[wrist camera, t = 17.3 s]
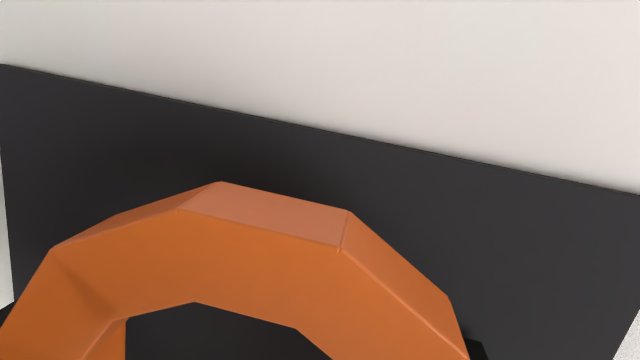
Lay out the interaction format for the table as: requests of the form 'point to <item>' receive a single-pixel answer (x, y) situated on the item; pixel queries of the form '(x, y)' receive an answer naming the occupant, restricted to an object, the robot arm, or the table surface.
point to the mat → (328, 189)
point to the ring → (233, 280)
